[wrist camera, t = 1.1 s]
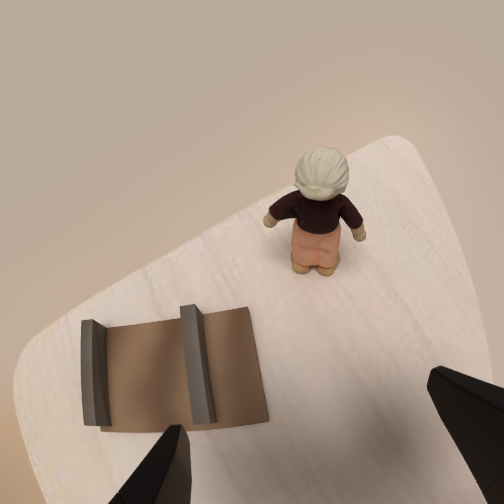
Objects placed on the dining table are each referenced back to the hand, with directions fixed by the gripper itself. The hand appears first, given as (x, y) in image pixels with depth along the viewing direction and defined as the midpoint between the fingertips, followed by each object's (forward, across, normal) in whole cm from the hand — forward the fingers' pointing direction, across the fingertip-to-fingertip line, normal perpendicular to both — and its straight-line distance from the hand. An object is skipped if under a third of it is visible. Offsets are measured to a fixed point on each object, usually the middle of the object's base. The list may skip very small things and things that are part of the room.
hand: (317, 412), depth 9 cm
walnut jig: (+13, +9, +7) cm, 17 cm away
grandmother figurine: (+19, -5, +1) cm, 19 cm away
